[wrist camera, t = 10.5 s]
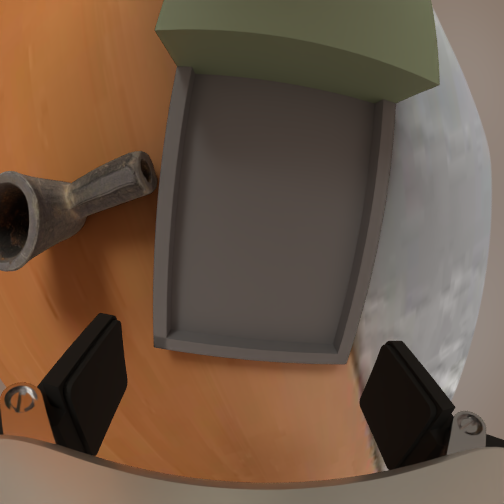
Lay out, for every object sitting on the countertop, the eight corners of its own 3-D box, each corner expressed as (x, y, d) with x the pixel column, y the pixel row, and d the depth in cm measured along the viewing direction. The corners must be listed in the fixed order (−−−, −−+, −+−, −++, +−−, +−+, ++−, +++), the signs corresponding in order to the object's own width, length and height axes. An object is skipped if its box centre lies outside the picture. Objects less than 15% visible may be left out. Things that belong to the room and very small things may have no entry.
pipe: (169, 207, 21) (129, 223, 13) (45, 255, 21) (-13, 284, 14) (147, 130, 19) (98, 108, 12) (26, 191, 20) (-37, 201, 12)
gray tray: (203, -3, 17) (188, -63, 9) (382, 29, 17) (428, -13, 10) (161, 331, 23) (132, 392, 15) (337, 348, 24) (368, 408, 16)
